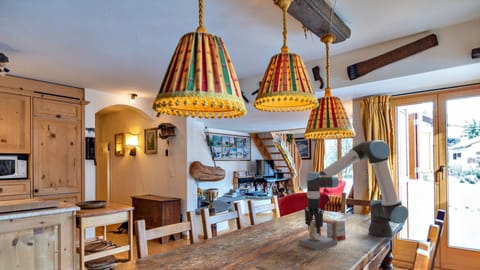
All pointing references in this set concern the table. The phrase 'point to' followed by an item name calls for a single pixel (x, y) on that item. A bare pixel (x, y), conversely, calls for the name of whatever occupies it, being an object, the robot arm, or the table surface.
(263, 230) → the table surface
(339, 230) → the ink box
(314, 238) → the peg
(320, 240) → the socket porch
